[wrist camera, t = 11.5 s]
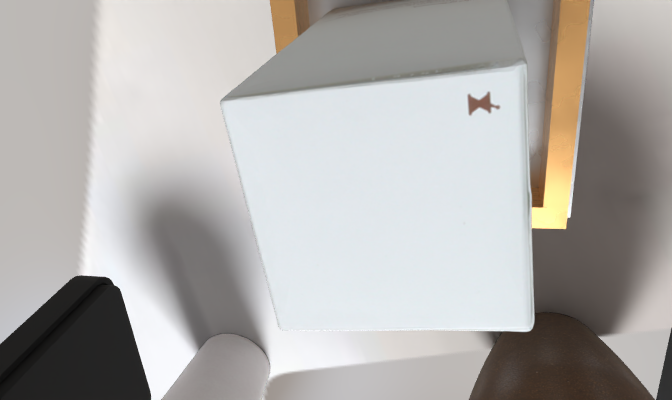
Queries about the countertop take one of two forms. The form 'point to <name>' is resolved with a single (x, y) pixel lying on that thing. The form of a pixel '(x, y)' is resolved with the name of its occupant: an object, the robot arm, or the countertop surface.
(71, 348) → the robot arm
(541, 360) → the plant pot
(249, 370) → the coffee cup
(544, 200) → the tray on grey cylinder
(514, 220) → the supplement box
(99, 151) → the countertop surface
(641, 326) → the countertop surface
